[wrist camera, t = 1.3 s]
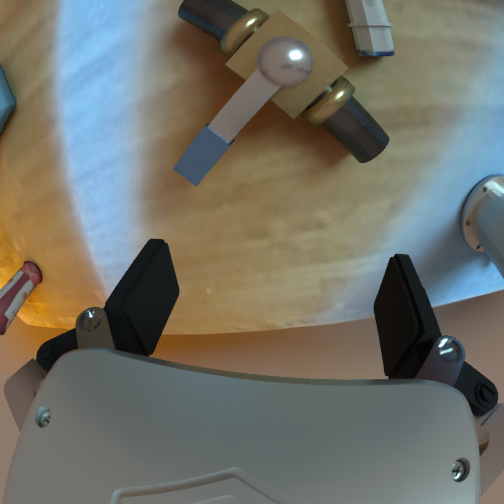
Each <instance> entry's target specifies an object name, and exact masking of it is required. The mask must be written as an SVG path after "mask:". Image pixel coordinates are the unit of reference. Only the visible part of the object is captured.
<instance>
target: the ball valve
mask: <svg viewBox="0 0 504 504" xmlns="http://www.w3.org/2000/svg"><path fill="white" fill-rule="evenodd" d="M178 16H179V17H180V18H182V19H183V20H185V21H187V22H189V23H190V24H192V25H194V26H196V27H197V28H199V29H200V30H202V31H204V32H205V33H207V34H209V35H210V36H212V37H213V38H215V39H216V40H218V41H219V42H220V44H219V48H218V49H219V51H220V52H222V53H223V54H225V55H226V56H228V57H229V58H230V59H229V61H228V62H227V63H226V64H225V65H226V66H227V67H229V68H230V69H232V70H233V71H234V72H236V73H237V74H238V75H240V76H241V77H242V78H244V79H245V80H247V79H248V78H249V77H250V76H251V75H252V74H253V73H254V72H255V71H256V70H257V69H258V64H257V57H258V53H259V50H260V49H261V47H262V46H263V45H264V44H265V43H266V42H267V41H269V40H271V39H273V38H275V37H280V36H288V37H293V38H296V39H298V40H300V41H302V42H303V43H305V44H306V45H307V46H308V48H309V49H310V50H311V52H312V55H313V59H314V66H313V70H312V72H311V74H310V75H309V77H308V78H307V79H306V80H305V81H303V82H301V83H299V84H297V85H294V86H281V87H280V88H279V90H278V91H277V92H276V93H275V94H274V95H273V96H272V97H271V98H270V100H271V101H273V102H274V103H275V104H276V105H277V106H279V107H280V108H281V109H282V110H283V111H284V112H286V113H287V114H288V115H289V116H290V117H291V118H292V119H295V118H296V117H297V116H298V115H299V114H300V113H301V112H302V111H303V112H302V113H301V115H302V116H303V117H304V118H305V119H306V120H307V121H308V122H309V123H310V124H311V125H312V126H317V125H319V124H322V125H323V126H325V127H326V128H327V129H328V130H329V131H330V132H331V133H332V134H333V135H334V136H335V137H336V138H337V139H338V140H339V141H340V143H341V144H342V145H343V146H344V147H345V148H346V149H347V150H348V151H349V152H350V153H351V154H352V155H353V156H354V157H355V158H356V160H357V161H358V162H359V163H366V162H368V161H370V160H372V159H374V158H375V157H377V156H378V155H379V154H380V153H381V152H382V151H383V150H384V149H385V148H386V146H387V144H388V142H389V136H388V135H387V134H386V133H385V131H384V130H383V129H382V128H381V127H380V125H379V124H378V123H377V122H376V121H375V120H374V119H373V117H372V116H371V115H370V114H369V113H368V112H367V111H366V110H365V109H364V107H363V106H362V105H361V104H360V103H359V102H358V101H357V100H356V99H355V98H354V97H353V96H352V94H353V93H354V91H355V87H354V86H353V85H352V84H351V83H350V82H349V81H348V80H347V79H346V78H345V77H344V76H341V77H339V76H340V75H341V74H342V73H344V72H345V71H346V70H347V69H348V67H347V66H346V65H345V64H344V63H343V62H342V61H341V60H340V59H339V58H338V57H337V56H336V55H334V54H333V53H332V52H331V51H330V50H329V49H328V48H327V47H325V46H324V45H323V44H322V43H321V42H320V41H318V40H317V39H316V38H315V37H314V36H312V35H311V34H310V33H309V32H307V31H306V30H305V29H303V28H302V27H301V26H300V25H298V24H297V23H296V22H294V21H293V20H292V19H290V18H289V17H287V16H286V15H285V14H283V13H282V12H280V11H279V10H277V11H276V12H275V13H274V14H273V15H272V16H269V15H268V14H266V13H265V12H263V11H262V10H260V9H259V8H256V9H253V10H251V11H248V10H247V9H245V8H243V7H242V6H240V5H238V4H237V3H235V2H233V1H232V0H184V1H183V2H182V4H181V6H180V8H179V11H178ZM338 77H339V78H338Z"/></svg>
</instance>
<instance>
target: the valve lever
mask: <svg viewBox="0 0 504 504" xmlns="http://www.w3.org/2000/svg"><path fill="white" fill-rule="evenodd" d="M257 64H258V69H257V70H256V71H255V72H254V73H253V74H252V75H251V76H250V77H249V78H248V79H247V80H246V82H245V83H244V84H243V85H242V86H241V87H240V88H239V89H238V91H237V92H236V93H235V94H234V95H233V96H232V97H231V99H230V100H229V101H228V102H227V103H226V104H225V106H224V107H223V108H222V109H221V110H220V112H219V113H218V114H217V115H216V117H215V118H214V119H213V120H212V121H211V122H210V123H208V124H207V125H205V126H204V127H203V129H202V130H201V131H200V132H199V134H198V135H197V136H196V138H195V139H194V140H193V142H192V143H191V144H190V146H189V147H188V148H187V150H186V151H185V152H184V154H183V155H182V157H181V158H180V159H179V161H178V162H177V164H176V165H175V167H174V168H173V169H174V170H175V171H177V172H178V173H179V174H181V175H182V176H183V177H184V178H186V179H187V180H188V181H190V182H191V183H192V184H193V185H195V186H197V185H198V184H199V183H200V181H201V180H202V179H203V178H204V177H205V175H206V174H207V173H208V172H209V170H210V169H211V168H212V167H213V165H214V164H215V163H216V162H217V161H218V159H219V158H220V157H221V156H222V155H223V154H224V152H225V151H226V150H227V149H228V148H229V147H230V145H231V144H232V143H233V142H234V141H235V140H234V139H233V138H234V137H235V136H236V135H237V134H238V133H239V131H240V130H241V129H242V128H243V127H244V126H245V125H246V124H247V123H248V121H249V120H250V119H251V118H252V117H253V116H254V115H255V114H256V113H257V112H258V110H259V109H260V108H261V107H262V106H263V105H264V104H265V103H266V102H267V101H268V100H269V99H270V98H271V97H272V96H273V95H274V94H275V93H276V92H277V91H278V90H279V88H280V87H281V86H294V85H297V84H299V83H301V82H303V81H305V80H306V79H307V78H308V77H309V75H310V74H311V72H312V70H313V66H314V59H313V55H312V52H311V50H310V49H309V48H308V46H307V45H306V44H305V43H303V42H302V41H300V40H298V39H296V38H293V37H288V36H280V37H275V38H273V39H271V40H269V41H267V42H266V43H265V44H264V45H263V46H262V47H261V49H260V50H259V53H258V57H257Z"/></svg>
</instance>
